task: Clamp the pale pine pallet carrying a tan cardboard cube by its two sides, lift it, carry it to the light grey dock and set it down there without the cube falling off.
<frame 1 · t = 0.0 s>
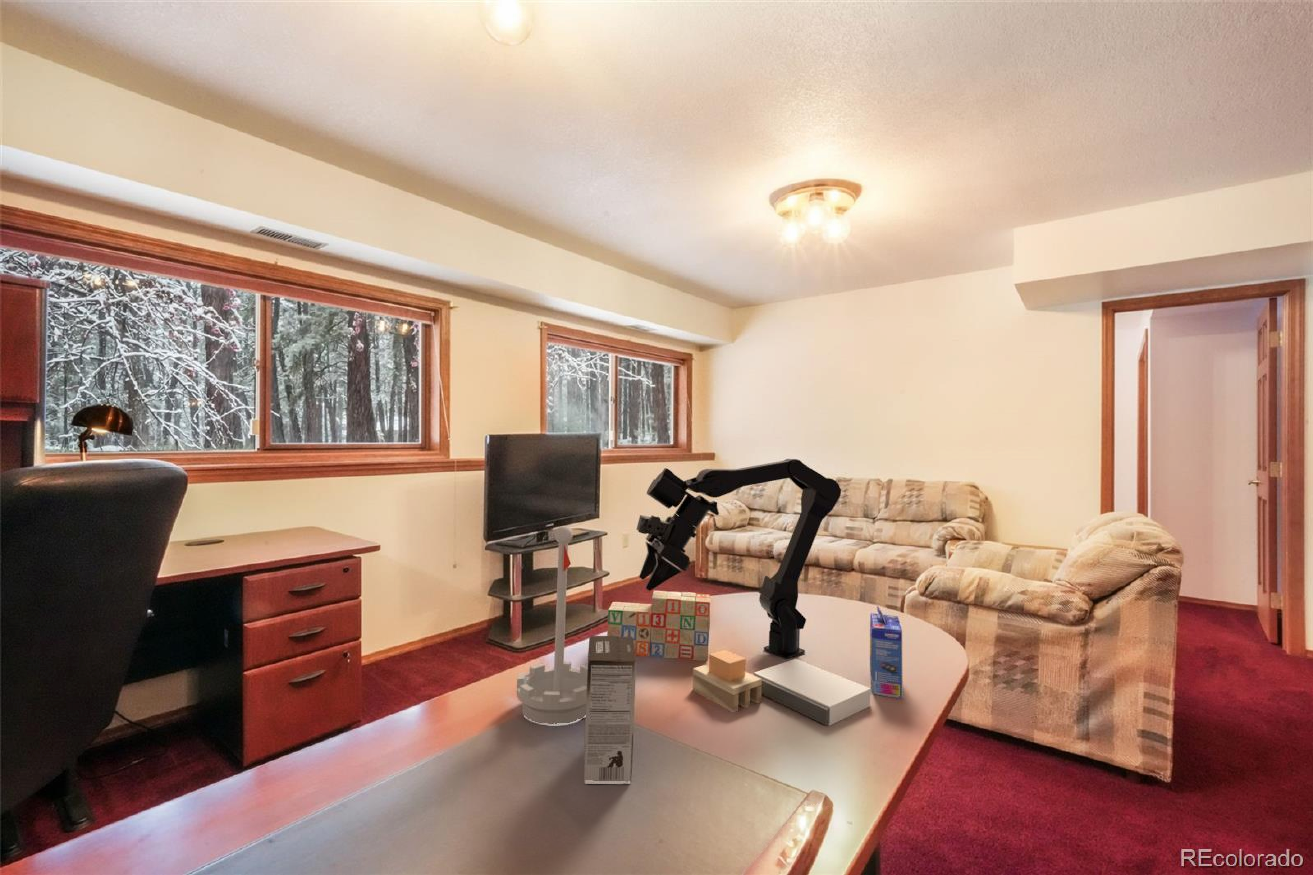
hand: (644, 583, 116), 15 cm above the table, tool tilted 35°, fingers open, 9 cm apart
coffee box: (607, 767, 76), on the table
stack of blocks: (658, 653, 118), on the table
dock: (810, 697, 99), on the table
tan cardboard cube: (726, 673, 99), point 4 cm above the table
pallet: (726, 696, 99), on the table
flag stand: (556, 710, 91), on the table
ink cartridge box: (884, 687, 105), on the table
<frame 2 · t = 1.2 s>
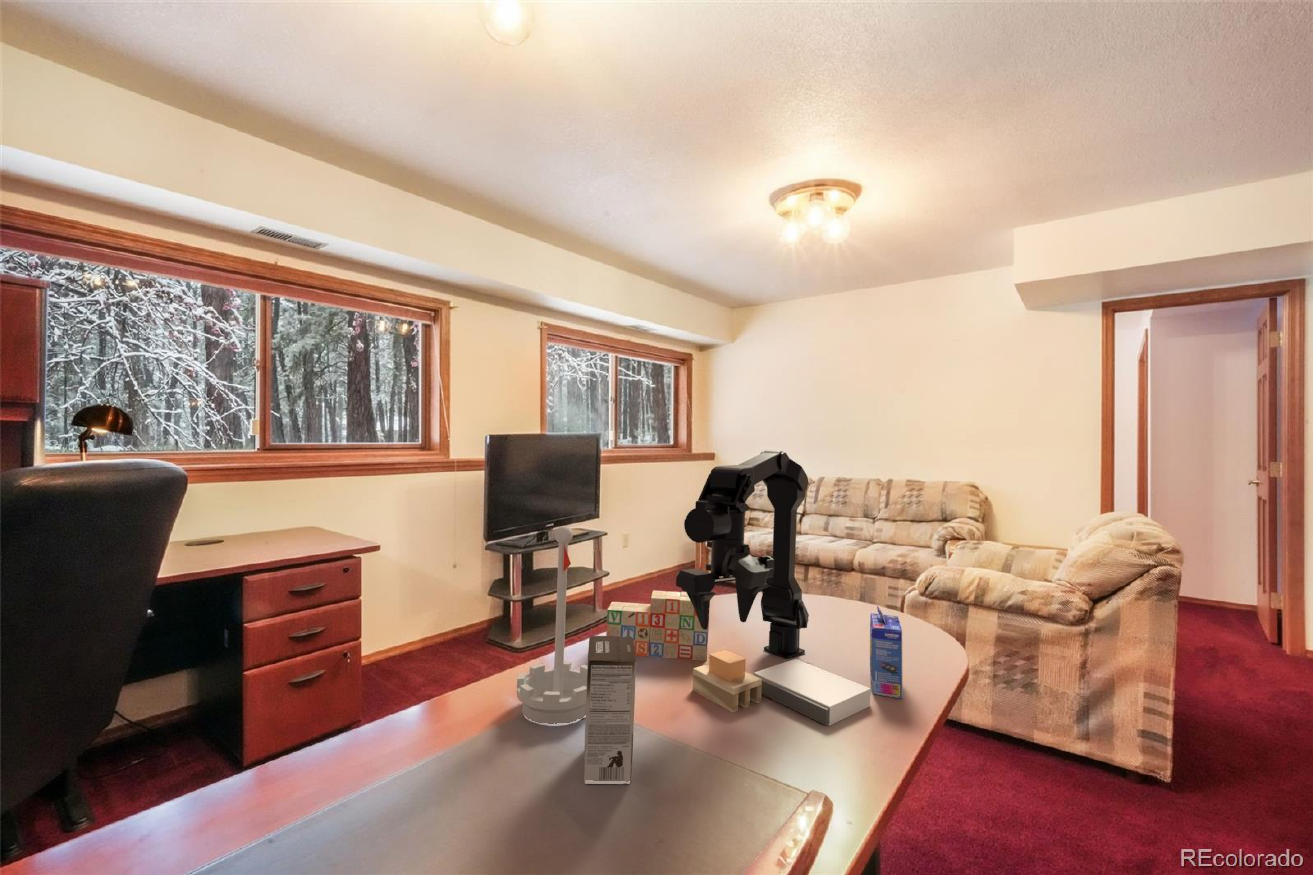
hand: (724, 625, 99), 12 cm above the table, tool pointing down, fingers open, 9 cm apart
tan cardboard cube: (726, 673, 99), point 4 cm above the table, touching pallet
pallet: (726, 696, 99), on the table, touching tan cardboard cube
everything else where it was.
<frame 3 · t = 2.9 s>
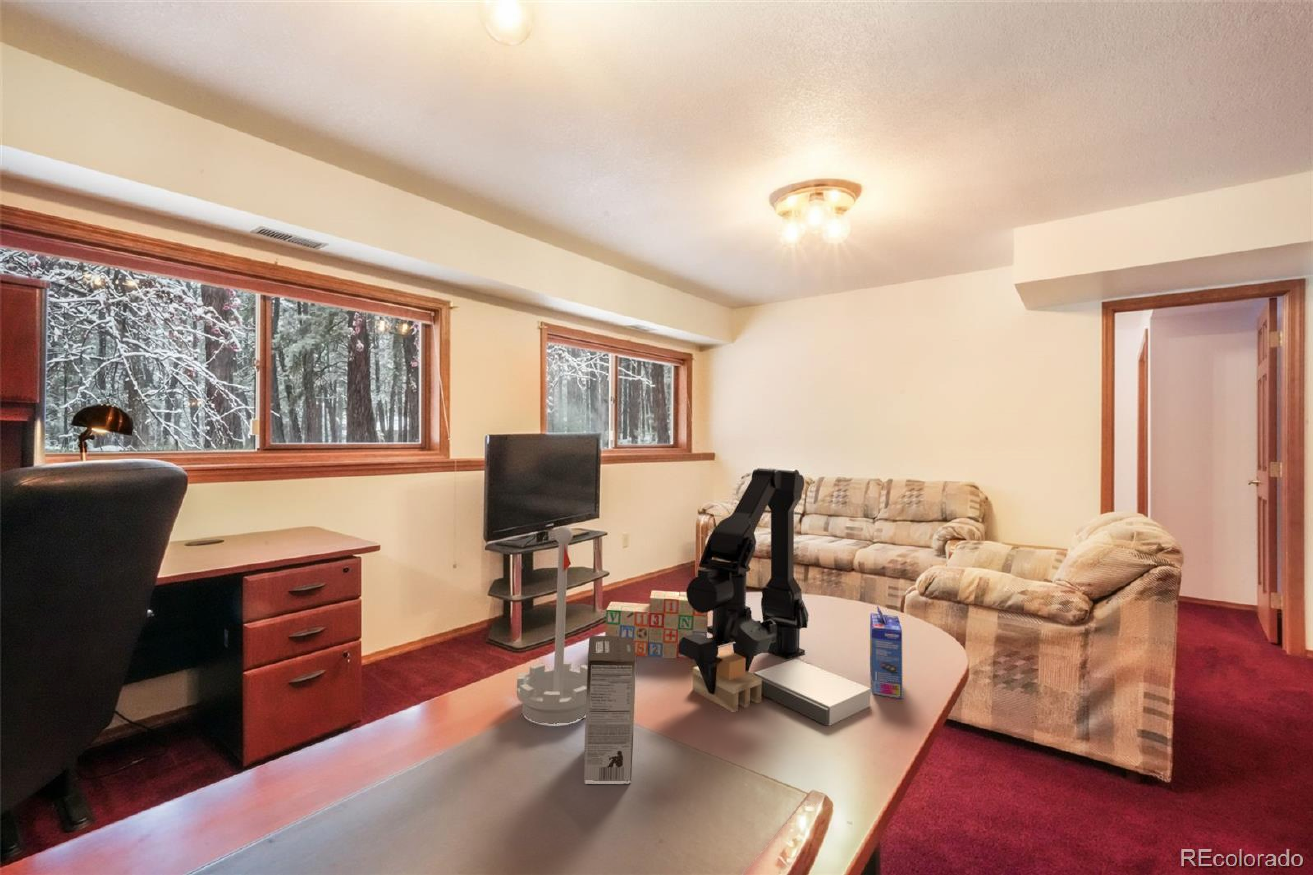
hand: (726, 688, 99), 1 cm above the table, tool pointing down, fingers closed on pallet, 7 cm apart
pallet: (726, 695, 99), on the table, touching tan cardboard cube, gripper
everything else where it was.
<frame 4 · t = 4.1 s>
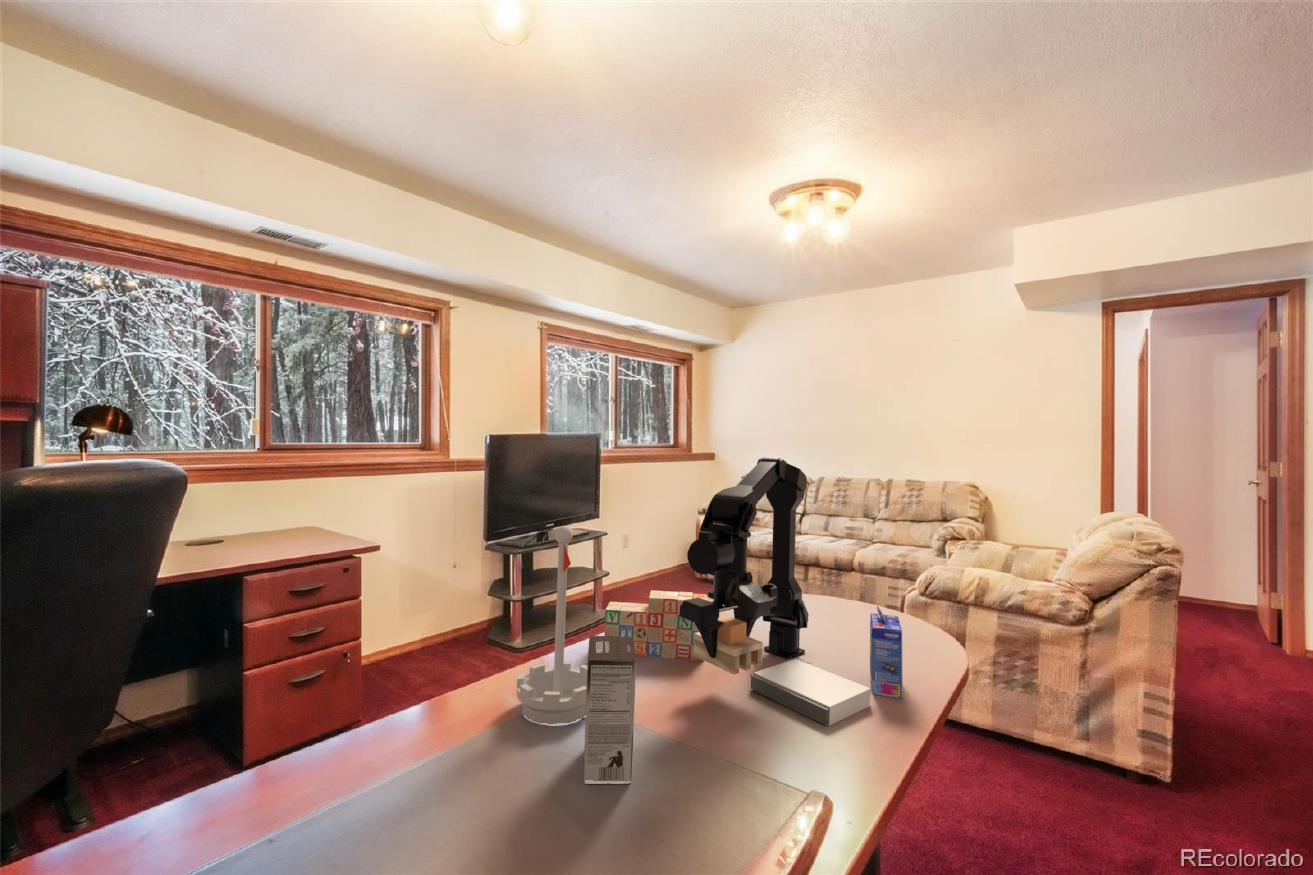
hand: (727, 653, 99), 7 cm above the table, tool pointing down, fingers closed on pallet, 7 cm apart
tan cardboard cube: (727, 637, 99), point 10 cm above the table, touching pallet
pallet: (727, 660, 99), point 6 cm above the table, touching tan cardboard cube, gripper
everything else where it was.
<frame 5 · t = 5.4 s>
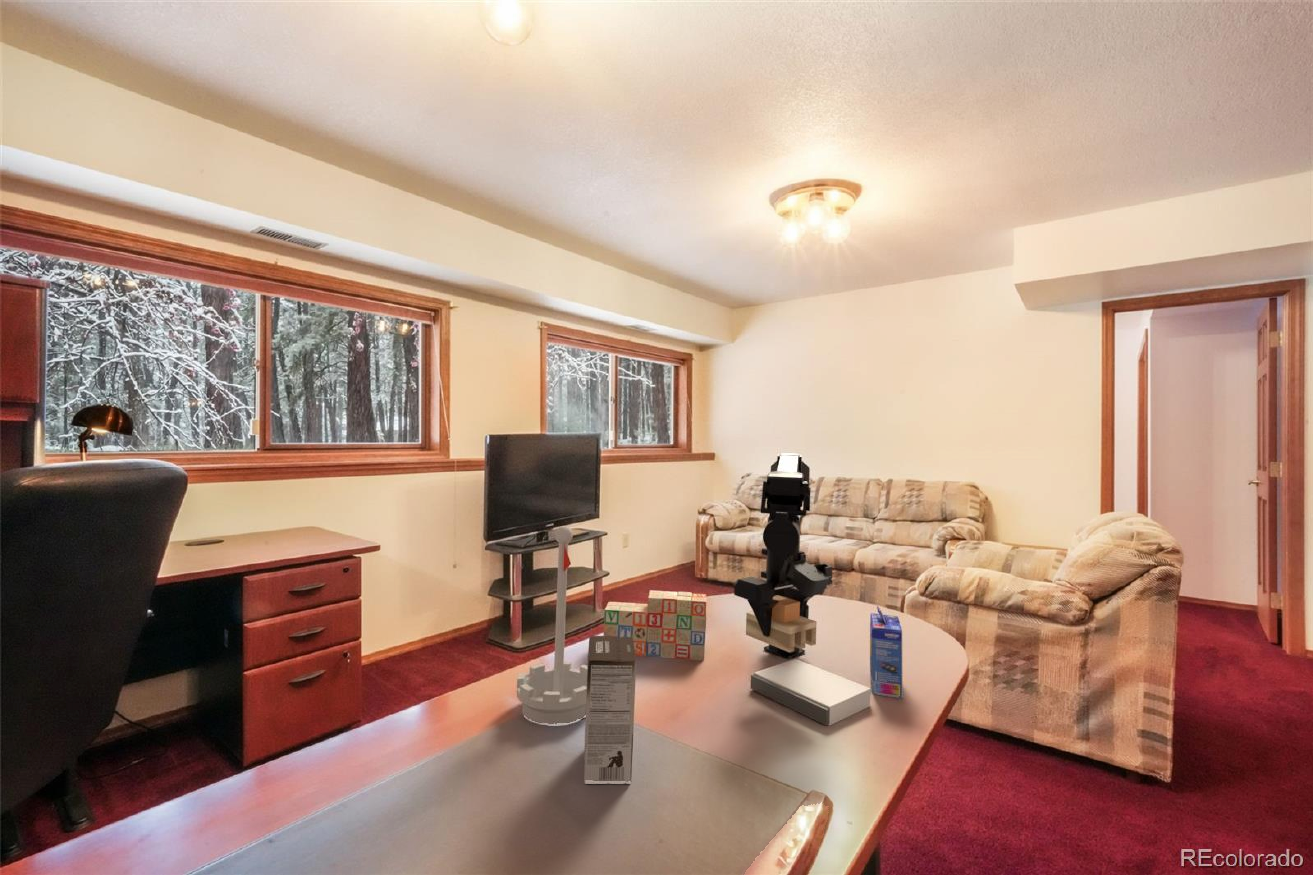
hand: (780, 632, 99), 11 cm above the table, tool pointing down, fingers closed on pallet, 7 cm apart
tan cardboard cube: (780, 616, 99), point 14 cm above the table, touching pallet
pallet: (780, 639, 99), point 10 cm above the table, touching tan cardboard cube, gripper
everything else where it was.
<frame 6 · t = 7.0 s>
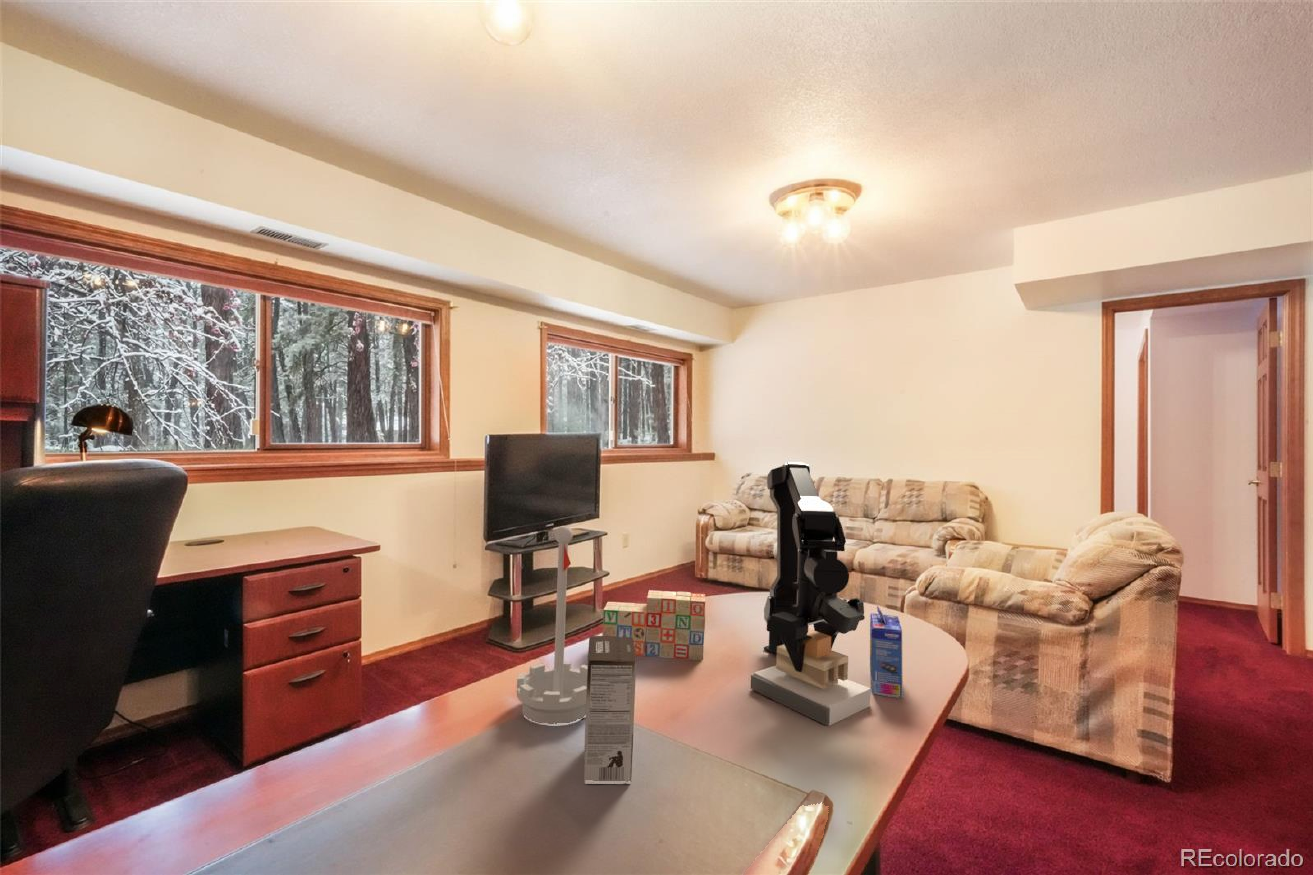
hand: (811, 666, 99), 5 cm above the table, tool pointing down, fingers closed on pallet, 7 cm apart
tan cardboard cube: (811, 651, 99), point 8 cm above the table, touching pallet
pallet: (811, 673, 99), point 4 cm above the table, touching tan cardboard cube, gripper
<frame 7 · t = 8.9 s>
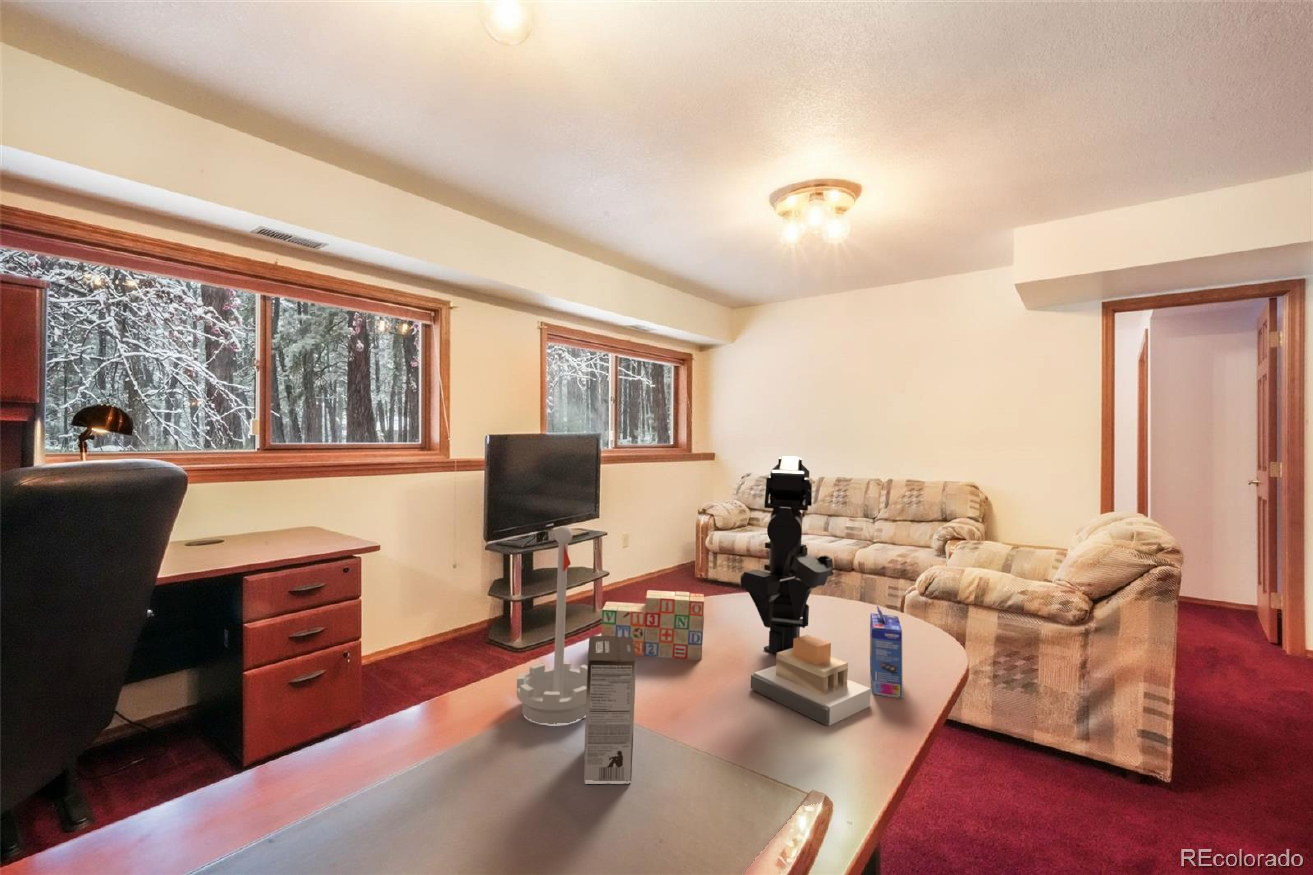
hand: (783, 622, 103), 12 cm above the table, tool pointing down, fingers open, 9 cm apart
tan cardboard cube: (811, 657, 99), point 7 cm above the table, touching pallet
pallet: (810, 680, 99), point 3 cm above the table, touching tan cardboard cube, dock
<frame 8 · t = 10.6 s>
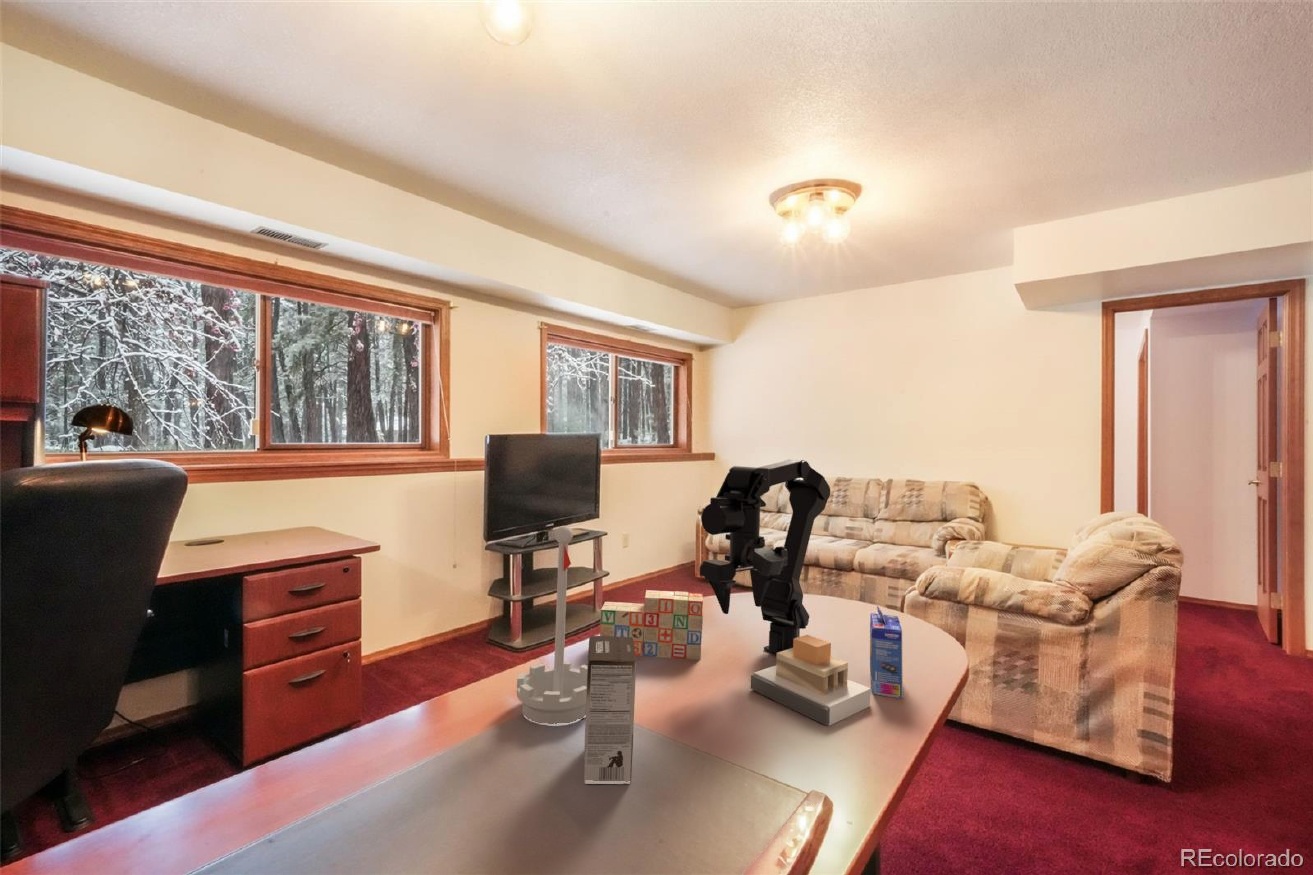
hand: (742, 609, 110), 12 cm above the table, tool pointing down, fingers open, 9 cm apart
at the end: pallet inside the target area on the dock (0.0 cm from its centre), point 3.0 cm above the dock's base; tan cardboard cube 0.0 cm off-centre on the pallet, point 4.0 cm above the pallet's base; the gripper is holding nothing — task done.
